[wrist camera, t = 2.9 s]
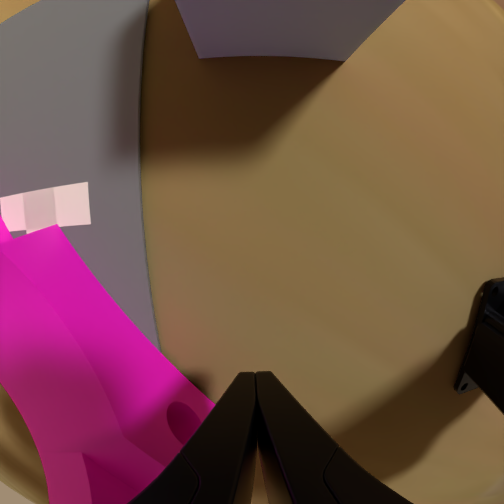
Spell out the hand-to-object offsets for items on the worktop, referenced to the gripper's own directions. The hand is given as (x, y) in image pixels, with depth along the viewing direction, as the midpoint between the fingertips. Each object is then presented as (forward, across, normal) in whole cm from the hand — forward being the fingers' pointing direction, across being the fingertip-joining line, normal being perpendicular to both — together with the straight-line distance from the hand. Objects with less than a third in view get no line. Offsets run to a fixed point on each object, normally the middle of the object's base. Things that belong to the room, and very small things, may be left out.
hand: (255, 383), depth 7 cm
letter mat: (+3, +8, -4) cm, 9 cm away
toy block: (+3, +8, 0) cm, 9 cm away
